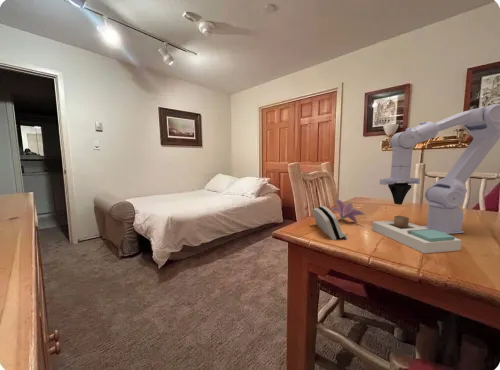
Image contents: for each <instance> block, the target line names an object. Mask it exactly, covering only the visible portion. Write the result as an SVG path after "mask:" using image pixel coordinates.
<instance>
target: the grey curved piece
mask: <svg viewBox="0 0 500 370" xmlns="http://www.w3.org/2000/svg"><path fill="white" fill-rule="evenodd" d="M311 212H312V215H313V217H314V220H315V225H316V226H317V227H318V228H319V229H320V230H322V232H324V233H325V234H326V235H327V236H328V238H330V239H331V240H332V241H337V239H338V238H339V239H342V238H344V239H345V240H347V241H348V240H349V239H348V235H347V234H346V233H345V232H343V231H342V229H341V227H340V226H341V225H340V223H339V220H338V218H337V217H336V214H335V213H333V212H332V210H330V208H328V207H327V206H325V205H321V206H318V207H315V208H313V209H312V210H311Z"/></svg>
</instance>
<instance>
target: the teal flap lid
mask: <svg viewBox="0 0 500 370" xmlns="http://www.w3.org/2000/svg"><path fill="white" fill-rule="evenodd" d="M407 232H408V233H411V234H413V235H415V236H418V237H420V238H423V239H425V240H428V241H441V240H454V239H455V238H456V236H453V235H452V234H445V233H442V232H439V231H436V230H433V229H420V230H408V231H407Z"/></svg>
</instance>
